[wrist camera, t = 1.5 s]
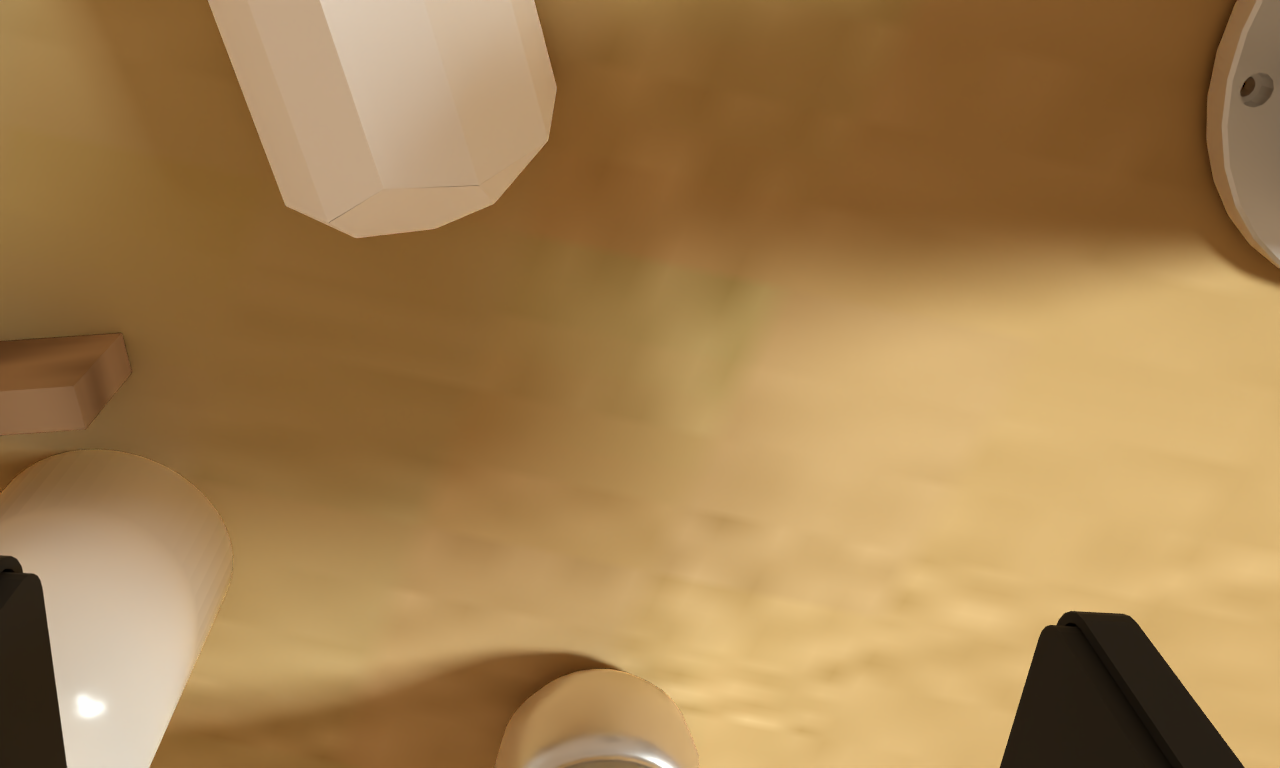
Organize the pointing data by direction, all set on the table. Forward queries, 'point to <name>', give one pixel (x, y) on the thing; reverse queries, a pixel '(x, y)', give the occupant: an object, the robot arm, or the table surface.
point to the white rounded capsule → (118, 592)
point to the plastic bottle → (598, 726)
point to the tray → (59, 381)
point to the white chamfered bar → (392, 103)
